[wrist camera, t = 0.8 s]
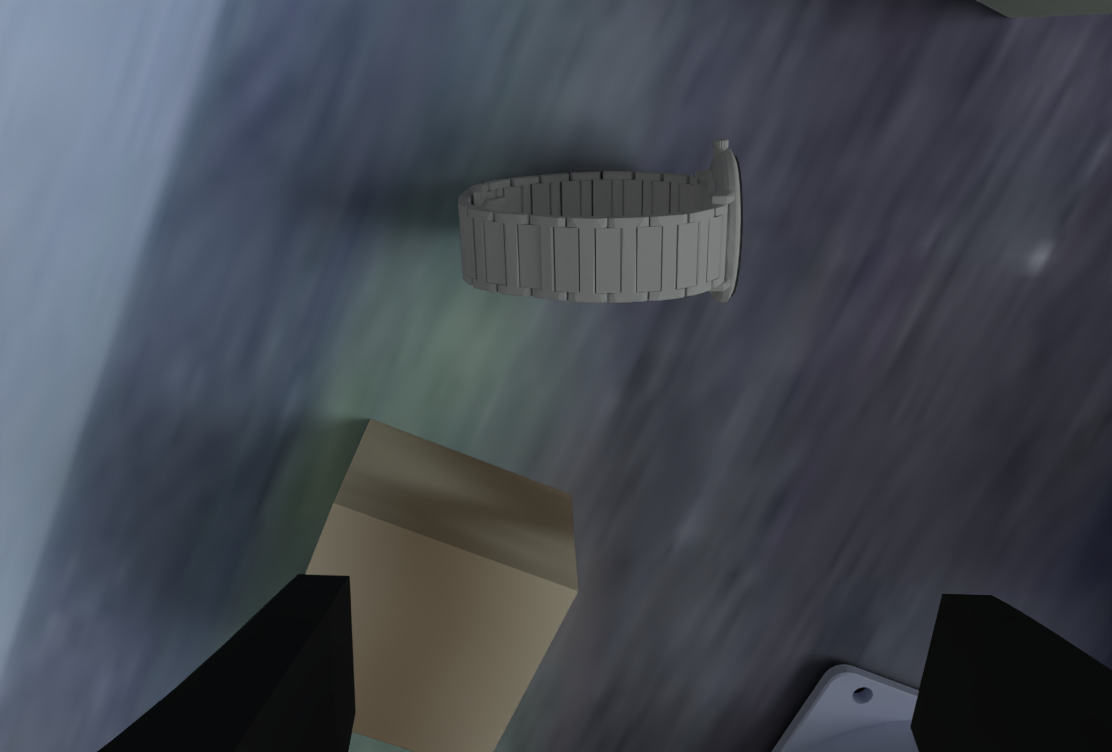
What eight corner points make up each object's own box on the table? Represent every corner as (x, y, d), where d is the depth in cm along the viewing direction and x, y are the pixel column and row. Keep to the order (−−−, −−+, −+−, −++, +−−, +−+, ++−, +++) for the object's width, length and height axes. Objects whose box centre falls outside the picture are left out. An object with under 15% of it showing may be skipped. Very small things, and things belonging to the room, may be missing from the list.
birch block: (571, 491, 21) (578, 591, 17) (491, 650, 22) (482, 773, 19) (371, 416, 20) (333, 503, 16) (303, 586, 22) (255, 700, 18)
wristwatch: (707, 264, 19) (764, 340, 14) (474, 271, 19) (453, 348, 14) (713, 124, 18) (776, 157, 13) (466, 131, 18) (440, 165, 13)
